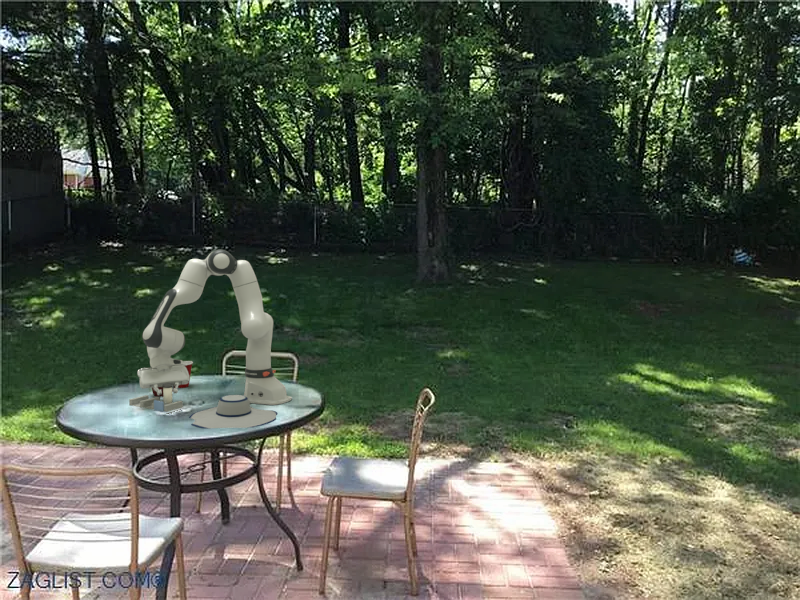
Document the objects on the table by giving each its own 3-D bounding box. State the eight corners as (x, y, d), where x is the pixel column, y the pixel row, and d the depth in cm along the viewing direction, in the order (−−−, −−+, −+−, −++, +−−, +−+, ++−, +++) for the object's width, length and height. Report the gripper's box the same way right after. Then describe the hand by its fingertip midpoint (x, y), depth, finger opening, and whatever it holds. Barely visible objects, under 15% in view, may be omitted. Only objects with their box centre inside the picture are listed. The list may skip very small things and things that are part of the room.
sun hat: (177, 415, 291) (177, 393, 290) (260, 404, 310) (259, 384, 309) (202, 436, 260) (202, 412, 259) (292, 423, 279) (292, 400, 278)
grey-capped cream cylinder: (174, 407, 294) (174, 384, 293) (167, 409, 290) (167, 385, 289) (168, 406, 295) (167, 383, 294) (161, 408, 292) (160, 384, 291)
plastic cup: (170, 385, 343) (169, 361, 342) (193, 383, 346) (192, 360, 345) (170, 390, 333) (169, 365, 332) (193, 388, 336) (193, 364, 335)
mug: (174, 395, 322) (173, 373, 321) (176, 398, 315) (176, 377, 314) (150, 397, 318) (149, 375, 317) (152, 401, 311) (151, 379, 310)
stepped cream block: (182, 410, 295) (182, 397, 294) (165, 415, 287) (165, 402, 286) (146, 404, 305) (145, 391, 305) (128, 408, 297) (128, 396, 296)
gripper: (137, 364, 291) (142, 392, 284) (186, 360, 302) (193, 386, 295) (135, 373, 296) (141, 400, 288) (184, 368, 306) (190, 394, 299)
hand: (167, 393), depth 292 cm, fingers open, 5 cm apart
